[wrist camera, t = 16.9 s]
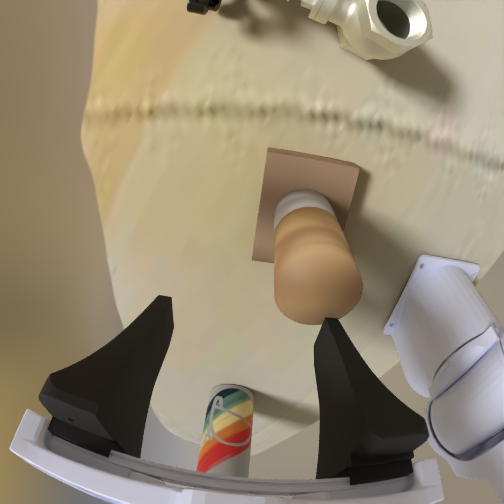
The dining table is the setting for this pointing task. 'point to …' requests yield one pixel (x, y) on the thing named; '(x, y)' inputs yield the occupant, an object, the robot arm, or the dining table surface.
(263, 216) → the blocks
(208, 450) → the lotion bottle
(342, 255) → the marker peg
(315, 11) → the valve
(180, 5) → the dining table surface
